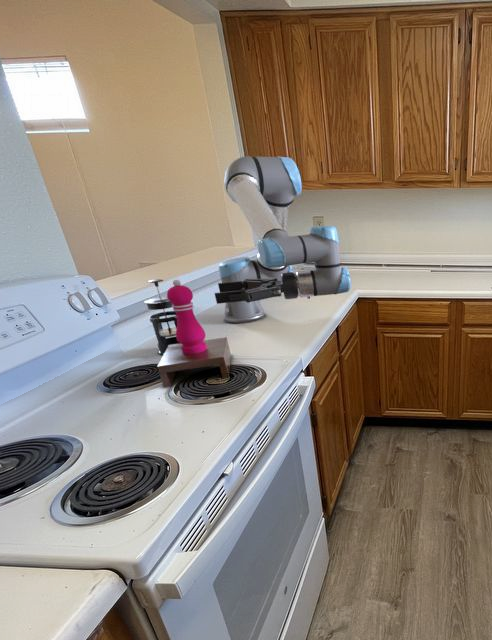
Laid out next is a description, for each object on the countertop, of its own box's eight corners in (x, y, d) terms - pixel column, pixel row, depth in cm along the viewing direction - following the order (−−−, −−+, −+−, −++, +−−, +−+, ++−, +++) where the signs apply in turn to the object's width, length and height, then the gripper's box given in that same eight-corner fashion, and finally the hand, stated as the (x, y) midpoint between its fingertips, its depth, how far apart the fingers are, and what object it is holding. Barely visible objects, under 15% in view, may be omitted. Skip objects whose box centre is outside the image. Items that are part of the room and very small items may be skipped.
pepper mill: (197, 355, 114) (177, 282, 106) (174, 354, 115) (153, 282, 107) (214, 346, 120) (197, 277, 112) (192, 345, 122) (174, 276, 114)
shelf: (174, 363, 125) (168, 345, 123) (231, 355, 130) (226, 337, 128) (163, 387, 110) (157, 366, 108) (228, 376, 115) (223, 356, 113)
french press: (151, 353, 134) (128, 282, 125) (176, 343, 142) (156, 276, 133) (177, 357, 130) (156, 284, 121) (201, 347, 138) (183, 277, 129)
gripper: (303, 307, 112) (217, 317, 105) (294, 289, 133) (223, 296, 127) (299, 279, 109) (210, 288, 102) (291, 265, 130) (217, 271, 123)
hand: (217, 293), depth 114 cm, fingers open, 13 cm apart
